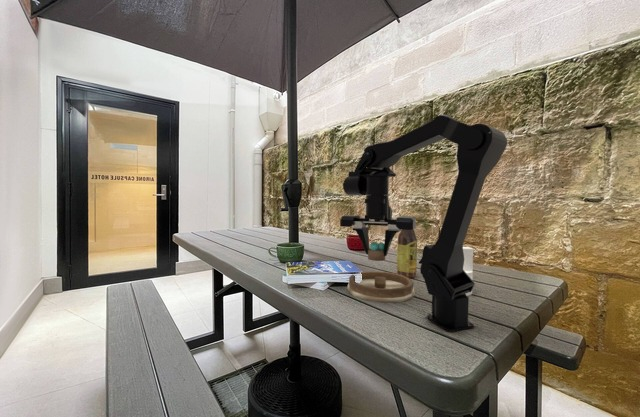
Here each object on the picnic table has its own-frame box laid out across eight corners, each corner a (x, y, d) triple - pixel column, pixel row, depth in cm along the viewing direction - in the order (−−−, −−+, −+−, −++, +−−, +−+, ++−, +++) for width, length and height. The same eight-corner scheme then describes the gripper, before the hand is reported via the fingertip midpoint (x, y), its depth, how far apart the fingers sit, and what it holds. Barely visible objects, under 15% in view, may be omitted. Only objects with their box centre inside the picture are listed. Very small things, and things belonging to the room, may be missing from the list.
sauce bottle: (412, 279, 86) (413, 216, 85) (393, 276, 90) (394, 216, 89) (419, 275, 91) (420, 216, 90) (401, 272, 95) (401, 215, 94)
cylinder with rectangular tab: (463, 285, 80) (464, 245, 80) (478, 296, 71) (479, 251, 71) (432, 284, 81) (433, 244, 81) (442, 295, 72) (443, 250, 72)
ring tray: (429, 297, 70) (429, 284, 70) (366, 306, 64) (366, 291, 64) (389, 278, 87) (390, 267, 87) (337, 283, 81) (337, 272, 81)
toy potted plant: (388, 260, 70) (388, 243, 70) (373, 261, 68) (373, 244, 68) (379, 256, 74) (379, 241, 74) (364, 257, 73) (365, 241, 72)
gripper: (418, 195, 74) (418, 252, 74) (353, 195, 82) (353, 247, 83) (413, 194, 64) (412, 261, 64) (339, 195, 72) (338, 253, 73)
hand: (376, 255), depth 71 cm, fingers closed on toy potted plant, 4 cm apart
